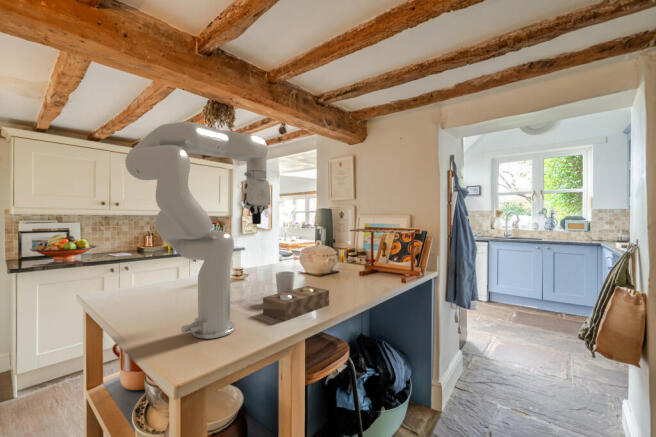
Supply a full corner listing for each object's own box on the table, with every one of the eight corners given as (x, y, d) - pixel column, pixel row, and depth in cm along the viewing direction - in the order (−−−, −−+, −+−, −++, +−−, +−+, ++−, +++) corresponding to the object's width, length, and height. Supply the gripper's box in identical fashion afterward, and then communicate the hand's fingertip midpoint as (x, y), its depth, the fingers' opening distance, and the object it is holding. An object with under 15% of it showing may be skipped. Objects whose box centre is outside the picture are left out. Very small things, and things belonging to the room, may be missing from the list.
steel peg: (285, 313, 106) (285, 297, 106) (277, 311, 109) (277, 295, 109) (294, 310, 109) (294, 295, 109) (286, 308, 112) (286, 293, 112)
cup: (293, 304, 120) (293, 275, 120) (273, 304, 120) (273, 275, 120) (295, 298, 128) (295, 271, 128) (277, 298, 128) (277, 271, 128)
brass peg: (308, 305, 115) (308, 291, 115) (300, 303, 118) (300, 289, 118) (315, 303, 118) (315, 289, 118) (307, 301, 121) (307, 287, 121)
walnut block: (284, 321, 100) (284, 303, 100) (262, 313, 108) (262, 297, 108) (329, 305, 119) (329, 290, 119) (307, 299, 127) (307, 285, 127)
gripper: (245, 173, 105) (245, 224, 105) (277, 178, 117) (277, 223, 117) (234, 175, 110) (234, 224, 110) (265, 179, 122) (265, 223, 122)
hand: (256, 223), depth 114 cm, fingers closed
